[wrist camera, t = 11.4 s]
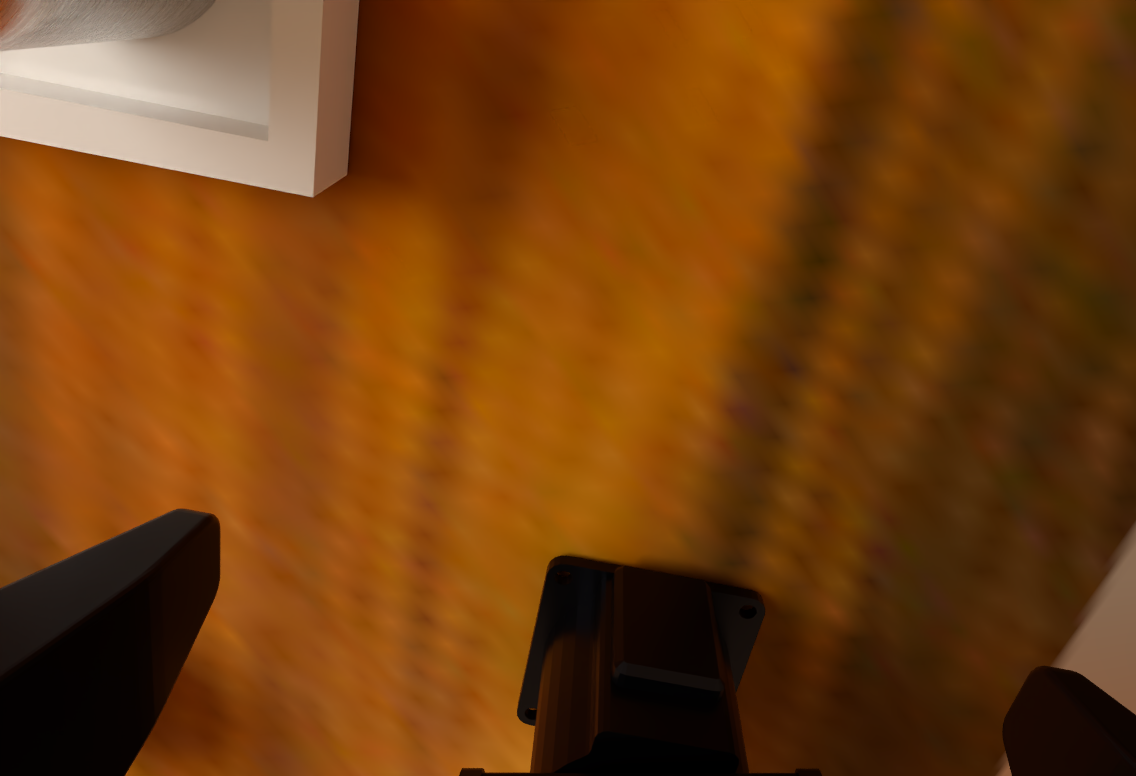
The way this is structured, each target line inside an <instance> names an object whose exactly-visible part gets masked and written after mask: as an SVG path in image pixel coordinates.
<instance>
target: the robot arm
mask: <svg viewBox="0 0 1136 776" xmlns="http://www.w3.org/2000/svg"><path fill="white" fill-rule="evenodd" d="M560 571H566V572H569V573H570V574H571V575H569V576H561V575H558V572H560ZM219 581H220V523H219V520H218V518H217V517H216V516H215V515H214V514H210V513H205V512H200V511H194V510H189V509H176V510H173V511H171V512H168V513H166V514H164V515H162V516H160V517H157V518H155V519H153V520H151V521H148V522H146V523H144V524H142V525H140V526H137V527H135V528H133V529H131V530H129V531H126V532H124V533H122V534H120V535H117V536H115V537H113V538H111V539H109V540H106V541H104V542H102V543H100V544H98V545H95V546H93V547H91V548H89V549H86V550H84V551H82V552H80V553H78V554H75V555H73V556H71V557H69V558H67V559H64V560H62V561H60V562H58V563H55V564H53V565H51V566H49V567H47V568H44V569H42V570H40V571H38V572H35V573H33V574H31V575H29V576H27V577H24V578H22V579H20V580H18V581H16V582H13V583H11V584H9V585H7V586H4V587H2V588H0V776H125V775H126V773H127V771H128V770H129V768H130V766H131V765H132V763H133V761H134V760H135V758H136V756H137V755H138V753H139V752H140V750H141V748H142V747H143V745H144V743H145V741H146V740H147V738H148V736H149V734H150V733H151V731H152V729H153V727H154V726H155V724H156V722H157V720H158V718H159V716H160V714H161V712H162V710H163V708H164V706H165V704H166V702H167V699H168V697H169V695H170V693H171V691H172V689H173V687H174V684H175V682H176V680H177V678H178V676H179V674H180V672H181V669H182V667H183V665H184V663H185V661H186V659H187V657H188V654H189V652H190V650H191V648H192V646H193V644H194V642H195V639H196V637H197V635H198V633H199V631H200V629H201V627H202V624H203V622H204V620H205V618H206V616H207V614H208V612H209V610H210V607H211V605H212V603H213V601H214V599H215V596H216V593H217V590H218V586H219ZM745 605H751V606H753V607H752V608H751V609H749V610H743V609H741V607H743V606H745ZM764 615H765V607H764V603H763V600H762V597H761V595H759V594H758V593H757V592H755V591H752V590H749V589H743V588H738V587H733V586H727V585H722V584H716V583H711V582H706V581H703V580H699V579H694V578H688V577H683V576H677V575H672V574H667V573H661V572H656V571H650V570H645V569H640V568H634V567H629V566H619V565H614V564H608V563H603V562H597V561H592V560H587V559H581V558H576V557H570V556H559V557H555V558H554V559H552V560H551V561H550V563H549V565H548V567H547V572H546V576H545V581H544V586H543V590H542V595H541V600H540V604H539V609H538V613H537V618H536V623H535V627H534V632H533V637H532V641H531V646H530V650H529V655H528V660H527V664H526V669H525V674H524V678H523V683H522V687H521V692H520V697H519V701H518V708H517V716H518V718H519V719H520V720H521V721H522V722H523V723H525V724H528V725H533V726H535V733H534V742H533V751H532V760H531V769H530V773H485V771H484V769H483V768H462V770H461V772H460V775H459V776H822V774H821V772H820V770H819V769H796V771H795V773H749V769H748V763H747V757H746V752H745V746H744V740H743V734H742V728H741V722H740V716H739V710H738V704H737V698H736V691H737V689H738V686H739V683H740V680H741V678H742V675H743V672H744V670H745V667H746V664H747V661H748V659H749V656H750V653H751V651H752V648H753V645H754V642H755V640H756V637H757V634H758V632H759V629H760V626H761V623H762V621H763V618H764ZM529 708H535V709H537V710H531V709H529ZM1002 732H1003V742H1004V746H1005V750H1006V754H1007V758H1008V762H1009V766H1010V770H1011V773H1012V776H1136V715H1135V714H1134V713H1132V712H1131V711H1130V710H1128V709H1127V708H1125V707H1124V706H1123V705H1122V704H1120V703H1119V702H1118V701H1116V700H1115V699H1114V698H1112V697H1111V696H1110V695H1108V694H1107V693H1106V692H1104V691H1103V690H1102V689H1100V688H1099V687H1098V686H1096V685H1095V684H1094V683H1092V682H1091V681H1090V680H1088V679H1087V678H1085V677H1084V676H1083V675H1081V674H1079V673H1077V672H1074V671H1071V670H1065V669H1060V668H1054V667H1049V666H1040V667H1037V668H1035V669H1034V670H1032V671H1031V673H1030V674H1029V675H1028V677H1027V679H1026V681H1025V682H1024V684H1023V686H1022V688H1021V690H1020V691H1019V693H1018V695H1017V697H1016V698H1015V700H1014V702H1013V704H1012V705H1011V707H1010V709H1009V711H1008V712H1007V714H1006V716H1005V719H1004V723H1003V731H1002Z"/></svg>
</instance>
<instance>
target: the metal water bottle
mask: <svg viewBox="0 0 1136 776" xmlns="http://www.w3.org/2000/svg"><path fill="white" fill-rule="evenodd" d="M215 1H216V0H0V51H10V50H21V49H32V48H43V47H54V46H65V45H76V44H88V43H99V42H110V41H121V40H132V39H143V38H152V37H159V36H164V35H167V34H170V33H174V32H176V31H178V30H180V29H183V28H185V27H187V26H189V25H190V24H191V23H193V22H194V21H196V20H197V19H198V18H200V17H201V16H202V15H203V14H204V13H205V12H206V11H207V10H208V9H209V8H210V7H211V6H212V5H213V3H214V2H215Z"/></svg>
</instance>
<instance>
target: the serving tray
mask: <svg viewBox="0 0 1136 776" xmlns="http://www.w3.org/2000/svg"><path fill="white" fill-rule="evenodd" d="M358 11H359V0H216V1H215V2H214V3H213V5H212V6H211V7H210V8H209V9H208V10H207V11H206V12H205V13H204V14H203V15H202V16H201V17H200V18H198V19H197V20H196V21H194V22H193V23H191V24H190V25H189V26H187V27H185V28H183V29H180V30H178V31H176V32H174V33H170V34H167V35H164V36H159V37H152V38H143V39H132V40H121V41H110V42H99V43H88V44H76V45H65V46H54V47H43V48H32V49H21V50H10V51H0V136H3V137H8V138H13V139H18V140H23V141H28V142H33V143H38V144H44V145H49V146H54V147H59V148H64V149H69V150H74V151H79V152H84V153H89V154H94V155H100V156H105V157H110V158H115V159H120V160H125V161H130V162H135V163H140V164H145V165H151V166H156V167H161V168H166V169H171V170H176V171H181V172H186V173H191V174H196V175H202V176H207V177H212V178H217V179H222V180H227V181H232V182H237V183H242V184H247V185H253V186H258V187H263V188H268V189H273V190H278V191H283V192H288V193H293V194H298V195H304V196H309V197H314V196H316V195H317V194H319V193H320V192H322V191H323V190H325V189H326V188H328V187H329V186H331V185H333V184H334V183H336V182H337V181H339V180H340V179H342V178H343V177H345V176H346V175H347V170H348V155H349V141H350V126H351V112H352V97H353V83H354V68H355V54H356V39H357V25H358Z"/></svg>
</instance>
